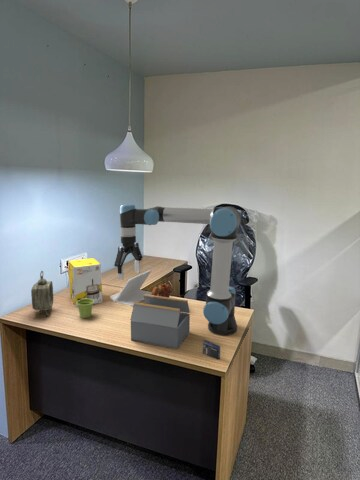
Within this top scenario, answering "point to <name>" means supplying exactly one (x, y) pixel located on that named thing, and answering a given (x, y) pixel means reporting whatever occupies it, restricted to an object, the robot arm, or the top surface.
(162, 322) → the near flap
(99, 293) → the packaging box
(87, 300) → the plant pot
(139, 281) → the tablet stand
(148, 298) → the far flap
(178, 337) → the carton
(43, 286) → the tabletop clock
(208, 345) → the mini dv tape
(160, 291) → the reddish brown bumpy lump
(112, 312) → the top surface
